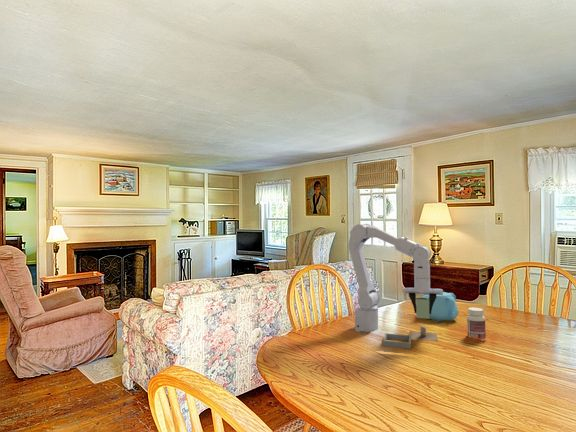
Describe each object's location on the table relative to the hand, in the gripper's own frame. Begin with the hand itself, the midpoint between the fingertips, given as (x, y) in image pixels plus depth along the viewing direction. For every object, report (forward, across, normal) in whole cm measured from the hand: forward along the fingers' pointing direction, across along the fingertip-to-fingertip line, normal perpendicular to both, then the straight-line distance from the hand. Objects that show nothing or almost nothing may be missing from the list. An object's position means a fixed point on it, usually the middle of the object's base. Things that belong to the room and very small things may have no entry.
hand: (422, 312), depth 140 cm
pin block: (+10, 0, 0) cm, 10 cm away
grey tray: (+10, +9, +10) cm, 17 cm away
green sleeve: (+1, 0, 0) cm, 1 cm away
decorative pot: (+10, -7, -31) cm, 33 cm away
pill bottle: (+10, -19, -5) cm, 22 cm away
